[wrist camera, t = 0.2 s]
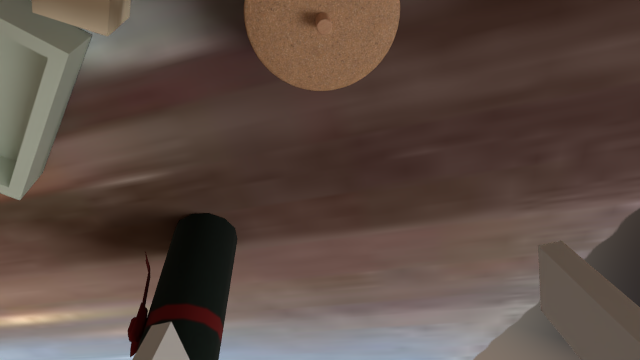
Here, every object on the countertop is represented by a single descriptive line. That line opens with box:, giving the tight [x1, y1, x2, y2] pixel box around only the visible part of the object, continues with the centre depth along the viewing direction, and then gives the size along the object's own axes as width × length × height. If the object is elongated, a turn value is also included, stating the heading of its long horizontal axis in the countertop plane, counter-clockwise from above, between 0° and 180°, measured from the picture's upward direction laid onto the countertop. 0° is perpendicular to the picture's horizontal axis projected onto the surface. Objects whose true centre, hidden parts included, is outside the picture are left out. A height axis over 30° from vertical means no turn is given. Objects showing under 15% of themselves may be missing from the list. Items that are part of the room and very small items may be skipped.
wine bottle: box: [128, 213, 237, 360], centre depth 37 cm, size 8×10×30 cm
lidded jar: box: [244, 0, 400, 91], centre depth 29 cm, size 11×11×9 cm
